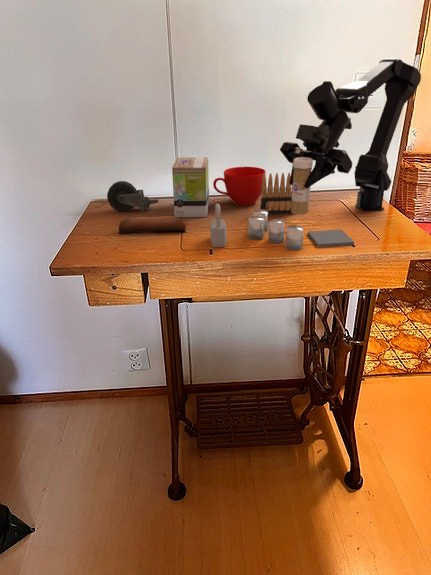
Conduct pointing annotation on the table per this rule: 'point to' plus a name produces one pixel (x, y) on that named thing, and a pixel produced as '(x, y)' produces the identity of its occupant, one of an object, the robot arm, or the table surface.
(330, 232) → the mat
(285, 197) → the ammunition clip
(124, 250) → the table surface
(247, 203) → the ceramic cup
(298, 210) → the sprinkles bottle
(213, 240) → the padlock
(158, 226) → the sunglasses case
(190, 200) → the tea box
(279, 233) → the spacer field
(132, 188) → the caster wheel
